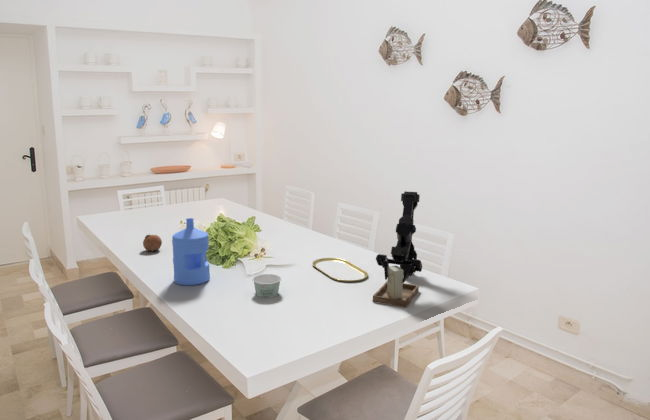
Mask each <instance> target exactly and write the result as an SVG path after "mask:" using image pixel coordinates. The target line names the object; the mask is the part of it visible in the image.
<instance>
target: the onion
mask: <svg viewBox="0 0 650 420" xmlns="http://www.w3.org/2000/svg"><path fill="white" fill-rule="evenodd" d="M162 244H163V240H162V238H161V237H160V236H159V235H157V234H146V235H145V237H144V239H143V241H142V245H143V248H144V249H145V250H146V251H147V252H157V251H159V250H160V248H161V246H162ZM156 250H157V251H156Z"/></svg>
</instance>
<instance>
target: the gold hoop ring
mask: <svg viewBox="0 0 650 420" xmlns="http://www.w3.org/2000/svg"><path fill="white" fill-rule="evenodd" d="M321 262H339V263H343V264H346V266H349V267H350V268H352V269H354V270H356V271H357V272H359V273H361V274H362V275H363V276H364V277H363V278H360V279H339V278H336V277H333V276H331V275H329V274H328V273H326V272H325V271H323V270H322V269H320V268H319V267H317V266H316V265H317V264H319V263H321ZM312 266H313V267H314V268H316V269H317V270H318V271H320V272H321V273H322V274H324V275H326V276H327V277H328V278H331V279H332V280H334V281H337V282H341V283H342V282H343V283H357V282H361V281H363V280H365V279H367V277H368V276H369V273H368V272H367V271H366V270H364V269H362V268H361V267H360V266H357V265H356V264H354V263H352V262H351V261H348V260H347V259H342V258H337V257H322V258H318V259H315V260H314V261H312Z"/></svg>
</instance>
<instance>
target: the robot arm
mask: <svg viewBox="0 0 650 420" xmlns="http://www.w3.org/2000/svg"><path fill="white" fill-rule="evenodd" d="M420 196H421V195H420V194H418V192H417V191H404V193H401V195H400V202H402V205H403V207H402V208H403V209H402V216H401V217H400V218H399V219H398V223H396V225H395V226H396V227H395V233H396V239H397V241H396V245H395V246H391V251H390V255H391V257H392V258H388V256H387V255H386V254H381V253H377V255H376V257H375V261H376V263H377V265H378V266H381V267H382V268H383V270H384V271H383V272H384V279H385V281H387V279H388V267H389V264H391V265H396V266H399V267H400V268H401V269H403V270H404V272H403V281H402V282H403V283H405V282H406V281H407V279H409V277H411V276H412V275H413V274H414V273H416V272H419V273H420V272H422V270H423V264H422V261H421V259H418V253H417V251H416V250H415V245H414V243H413V240H412V239H413V235H414V234H415V233H416V231H417V228H416V225H415V224H414V223H415V222H414V217H415V216H414V212H415V210H416V209H417V207H418V203H420Z"/></svg>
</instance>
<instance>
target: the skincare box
mask: <svg viewBox="0 0 650 420" xmlns="http://www.w3.org/2000/svg"><path fill="white" fill-rule="evenodd" d="M403 272H404V270H403V269H401V268H400V266H399V265H391V266H389V267H388V277H387V280H386V282H387V294H388V295H389V296H390V297H391V298H393V299H398V298H402V289H403V282H402V281H403V277H404V275H403Z"/></svg>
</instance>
